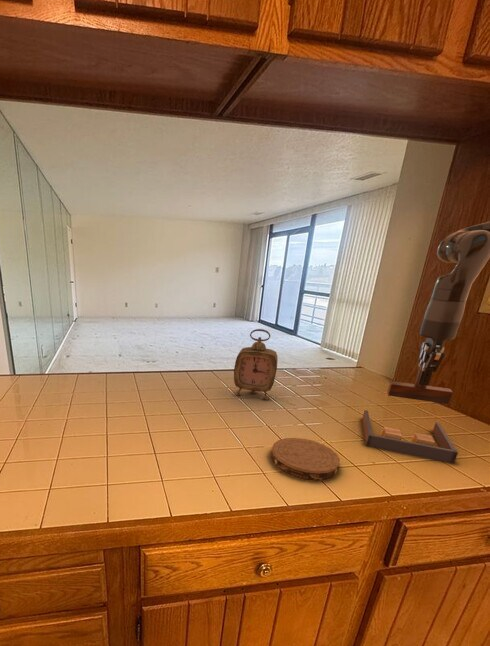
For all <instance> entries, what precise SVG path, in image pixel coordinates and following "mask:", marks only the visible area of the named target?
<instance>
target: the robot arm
mask: <svg viewBox="0 0 490 646" xmlns="http://www.w3.org/2000/svg"><path fill="white" fill-rule="evenodd" d="M436 254H437V257H438V259H439V260H440V261H441V262H443V263H446V264H456V265H455V266H454V268H453V270H451V272H450V273H446V274H443V275H440V276H439V277H438V278H437V279H436V281H435V284H434V287H433V291H432V294H431V297H430V300H429V303H428V304H427V306H426V309H425V313H424V317H423V320H422V323H421V326H420V330H419V335H420V337H423V338H426V340H425V341H421V344H420V349H419V350H420V351H419V357H418V360H417V362H418V371H417V374H416V377H415V381H416V380H417V377H418V373H419V370H420V367H421V364H423V368H422V372H421V375H420V378H419V381H418V383H419V384H420V385H427V386H429V384H430V382H431V378H432V374H433V373H436V372H437V371H438V369H439V367H440V365H441V364H442V362H443V360H444V358H445V356H446V353H445V352H444V351H445V345H444V344H445V342H446V340H448V341H451V340H454V339H456V337H457V334H458V331H459V328H460V325H461V322H462V319H463V316H464V313H465V308H466V303H467V300H468V297H469V294H470V291H471V289H472V284H473V283H474V282H475V280H476V279H477V277H479V275H480V273H481V272H482V270H483V269H484V267H485V266H486V264H487V262H488V261H489V260H490V220H489V221H486V222H482V223H478V224H475V225H471V226H468V227H465V228H461V229H459V230H458V229H457V230H456V231H454V232H451V233H450V234H448V235H447V236H445V237H444V238H443V239H442V241H441V242H440V243H439V245H438V247H437V253H436ZM430 365H432V367H430Z"/></svg>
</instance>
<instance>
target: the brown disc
mask: <svg viewBox="0 0 490 646" xmlns="http://www.w3.org/2000/svg"><path fill="white" fill-rule="evenodd" d="M270 460H271V463H272V465H273V466H274V467H275V468H276V469H277V470H279V471H280V472H282V473H283V474H285V475H287V476H290V477H292V478H294V479H298V480H301V481H305V482H316V483H317V482H327V481H328V480H331V479H334V478H335V476H336V475H338V472H339V467H340V457H339V455H338V453H336V452H335V451H334V450H333V449H332V448H331V447H329V446H327V445H325V444H323V443H320V442H318V441H315V440H312V439H307V438H302V437H300V438H299V437H286V438H282V439H278V440H277V441H276V442H273V445H272V448H271V453H270Z"/></svg>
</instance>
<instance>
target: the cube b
mask: <svg viewBox="0 0 490 646" xmlns="http://www.w3.org/2000/svg"><path fill="white" fill-rule="evenodd" d="M411 442H414V443H419V444H424V445H429V446H435V443H436V442H435V440H434V436H433V435H429V434H426V433H425V434H424V433H419V432H414V433H413V435H412V438H411Z"/></svg>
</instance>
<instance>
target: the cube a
mask: <svg viewBox="0 0 490 646" xmlns="http://www.w3.org/2000/svg"><path fill="white" fill-rule="evenodd" d="M381 436H382V437H388V438H393V439H398V440H402V438H403V434H402V431H401V429H397V428H392V427H386V426H384V427H383V429H382V433H381Z"/></svg>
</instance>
